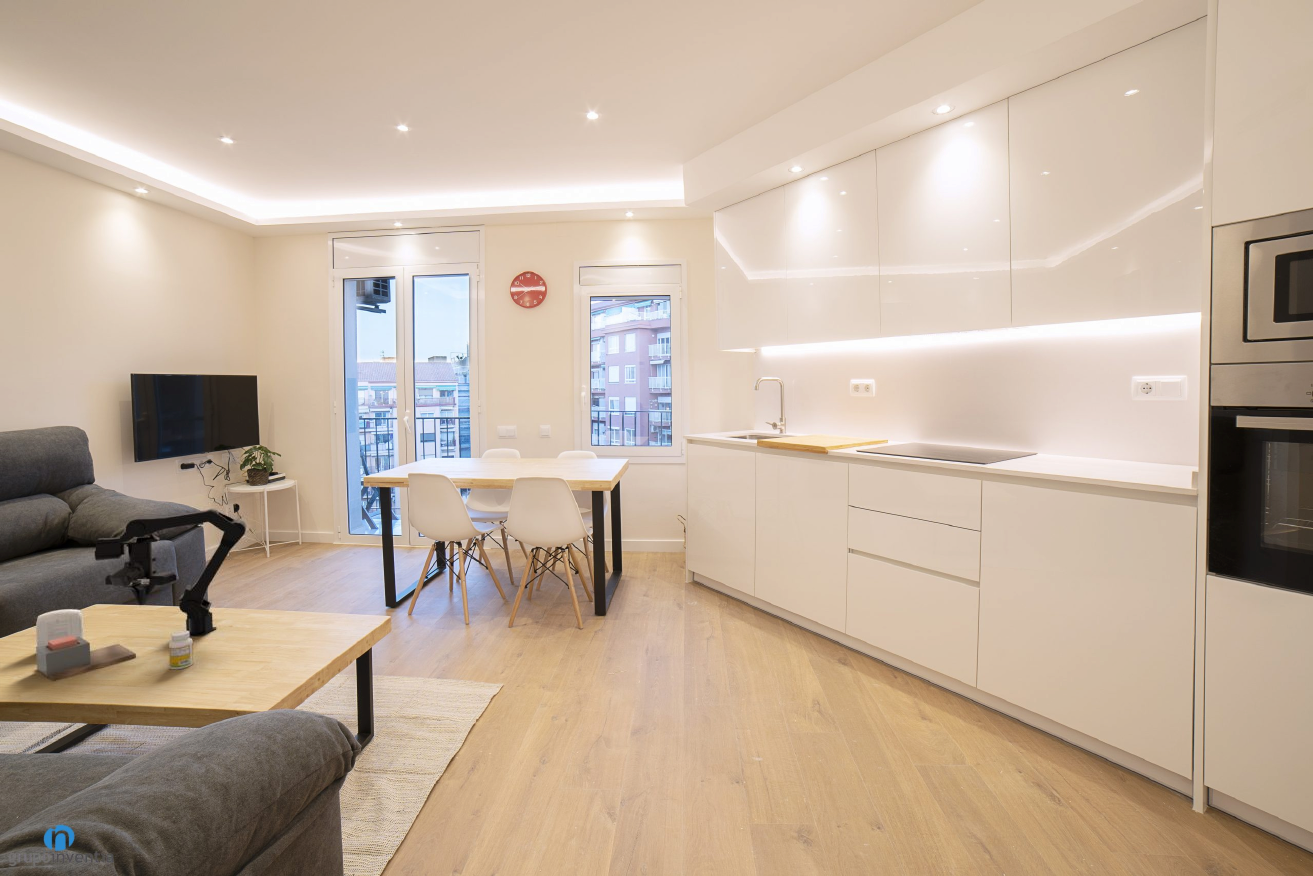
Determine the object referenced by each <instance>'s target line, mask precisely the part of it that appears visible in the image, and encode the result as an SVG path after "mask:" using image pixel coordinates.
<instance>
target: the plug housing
mask: <svg viewBox="0 0 1313 876" xmlns="http://www.w3.org/2000/svg"><path fill="white" fill-rule="evenodd" d="M75 638H77V639H78V644H77V645H73V646H69V647H65V648H62V649H58V650H54V651H51V650H50V649H48V644H47V645H42V646H38V647H37V646H36V647H35V648H36V649H35V653H36V669H37V668H38V669H39V670H41V671H42V672H43V673H45V674H46V675H50V674H53V673H57V672H61V671H64V670H68V669H72V668H75V667H79V666H83V665H86V664H90V663H91V661H90V651H91V646H90V645H91V643H90V642H89V641H87V640H86V639H84V638H83V639H82V638H81V637H75ZM38 669H37V670H38ZM39 670H38V671H39ZM42 672H41V673H42ZM43 673H42V674H43Z"/></svg>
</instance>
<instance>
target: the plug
mask: <svg viewBox="0 0 1313 876" xmlns="http://www.w3.org/2000/svg"><path fill="white" fill-rule="evenodd" d="M77 644H78V639H77V638H75V637H74V636H72V635H71V636H67V637H63V638H59V639H55V640H51V641H48V649H50V650H51V651H54V650H58V649H62V648H65V647H69V646H73V645H77Z"/></svg>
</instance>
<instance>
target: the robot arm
mask: <svg viewBox="0 0 1313 876" xmlns="http://www.w3.org/2000/svg"><path fill="white" fill-rule="evenodd" d="M203 523H210V524H211V525H213V526H214V527H216V528H217V530H220V531H222V532H223V535H222V536H221V540H220V541H219V544H218V547H217V548H216V550H215V552H213V555H212V556H211V558H210V560H209V561H208V563H207V564H206V566H205V568H204V569H203V571H202V573H201V574H200V576H199V577H198V579H197V581H196V582H195V583H193V585H191V584H187V586H186V588H185V589H184V593H182V594H181V595H180V597H179V599H178V602H179V605H178V608H179V610H180V612H182V613H184V614H186V620H185V629H186V630H185V631H189V634H190V636H202V637H203V636H205V635H206V634H208V633H210V632H212V631H215V630H217V626H214V625H213V621H214V620H213V612H211V611H210V609H211V607H212V602H211V601H209V600H207V599H205V597H206V594H207V591H208V588H209V587H210V584H211V583H212V581H213V580H214V578H215V576H216V574H217V572H218V571H219V569H220V568H221V567H222V565H223V563H224V561H225V560H226V558H227V556H228V554H229V553H230V551H232V549H233V548H234V546H236V545H237V543H239V541H240V540H241V539H242V538H243V537H244V535H245V534H246V530H247V524H246V522H245V521H243V520H241V519H234V518H232V517H231V516H229V515H227V514H224V513H222V512H220V511H218V509H215V508H210V509H206V510H205V509H204V510H199V511H194V512H186V513H180V514H179V513H178V514H173V515H167V516H159V515H157V516H155V515H145V516H143V515H142V516H141V515H140V516H136V517H134V518H132V519H131V520H130V521H129V522H128V523H127V524H126V526H125V531H124V532H123V533H122V534H121V535H120V537H119V536H118V537H111V538H110V537H109V538H108V537H107V538H105V537H103V538H98V539H96V545H95V550H94V559H95V561H96V562H99V561H111V560H118V559H119V560H120V559H122V557H123V556H126V554H127V555H128V560H127V561H124V563H123V567H122V568H121V569H119V570H117V571H116V572H114V573H111V574H108V575H106V577H105V578H104V581H105V584H104V585H105V586H108V585H109V586H110V585H111V586H113V587H118V586H120V587H121V586H122V587H123V588H126V589H129V590H130V591H131V592H132V593H133V595H134V597H135V599H136V601H137V603H138V604H139V606H144V605H146V602H148V601H147V600H148V599H149V597H150V595H151V593H152V591H153V590H154V588H155V586H164V585H166V584H170V583H172V582H175V581H177V579H178V578H177V573H175V572H174V571H162V572H159V573H157V570H156V569H153V565H154V564H153V562H156V559H157V557H153V543H157V542H159V540H160V539H161V538H160V537H159V536H157V535H155V534H154V533H156V532H160V531H162V530H163V531H164V530H167V529H173V528H178V527H185V526H191V525H198V524H203ZM147 535H148V536H147ZM149 535H150V536H149ZM134 538H136V539H135V540H132V539H134ZM190 636H189V637H190Z"/></svg>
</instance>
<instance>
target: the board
mask: <svg viewBox="0 0 1313 876" xmlns="http://www.w3.org/2000/svg"><path fill="white" fill-rule="evenodd" d="M136 658H137V652H136V653H135V652H134V651H132V650H130V649H129V648H127V647H125V646H123V645H122V644H120V643H117V644H112V645H108V646H105V647H101V648H96V649H94V650H90V661H91V663H90V664H86V665H83V666H79V667H75V668H72V669H68V670H64V671H61V672H57V673H53V674H50V675H46V674H45V673H43V672H42V671H41V670H39V669H38V668H37V667H36V670H38V672H40V673H42V674H43V675H44V676H45V677H46V678H47V679H49V680H50V681H52V682H55V681H57V680H62V679H65V678H68V677H71V676H75V675H78V674H82V673H86V672H90V671H93V670H96V669H100V668H103V667H107V666H111V665H114V664H118V663H122V662H125V661H128V660H129V661H130V660H132V659H136Z"/></svg>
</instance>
